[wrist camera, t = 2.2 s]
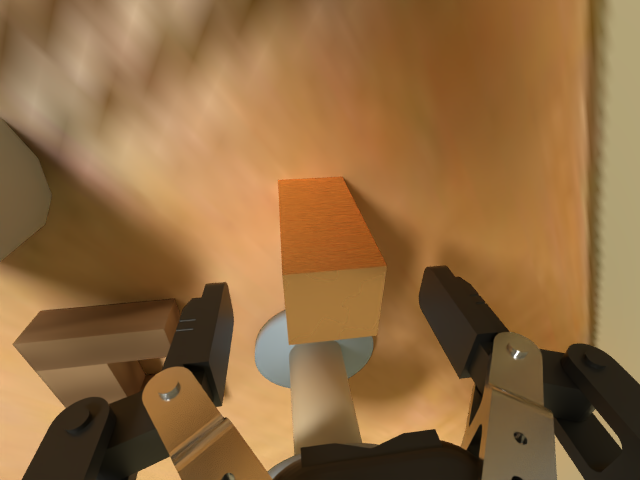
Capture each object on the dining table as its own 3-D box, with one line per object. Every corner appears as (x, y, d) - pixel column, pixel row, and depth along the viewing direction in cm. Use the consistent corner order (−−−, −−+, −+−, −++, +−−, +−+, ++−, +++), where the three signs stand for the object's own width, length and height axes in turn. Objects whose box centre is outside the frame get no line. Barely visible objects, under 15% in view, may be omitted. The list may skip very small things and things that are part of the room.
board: (40, 310, 19) (12, 344, 17) (174, 298, 20) (163, 329, 18) (102, 400, 25) (87, 433, 23) (206, 387, 26) (200, 418, 24)
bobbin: (248, 308, 21) (233, 480, 13) (375, 296, 22) (436, 449, 14) (261, 384, 26) (257, 543, 18) (365, 371, 27) (406, 517, 19)
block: (278, 180, 17) (282, 275, 10) (342, 176, 17) (387, 266, 10) (282, 235, 19) (288, 345, 12) (340, 230, 19) (376, 335, 12)
